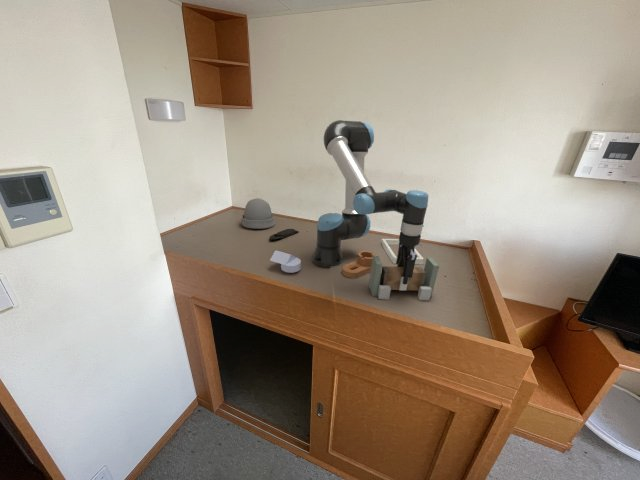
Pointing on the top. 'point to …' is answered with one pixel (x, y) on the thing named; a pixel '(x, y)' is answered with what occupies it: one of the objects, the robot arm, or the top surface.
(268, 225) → the beanie hat
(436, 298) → the top surface
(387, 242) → the frame
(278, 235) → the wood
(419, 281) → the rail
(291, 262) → the wedge on round base
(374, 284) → the green fixture with posts
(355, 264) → the bracket
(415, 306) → the top surface
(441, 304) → the top surface
